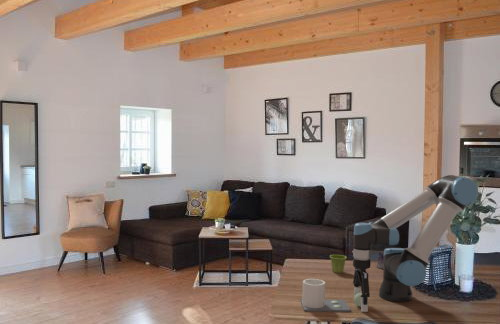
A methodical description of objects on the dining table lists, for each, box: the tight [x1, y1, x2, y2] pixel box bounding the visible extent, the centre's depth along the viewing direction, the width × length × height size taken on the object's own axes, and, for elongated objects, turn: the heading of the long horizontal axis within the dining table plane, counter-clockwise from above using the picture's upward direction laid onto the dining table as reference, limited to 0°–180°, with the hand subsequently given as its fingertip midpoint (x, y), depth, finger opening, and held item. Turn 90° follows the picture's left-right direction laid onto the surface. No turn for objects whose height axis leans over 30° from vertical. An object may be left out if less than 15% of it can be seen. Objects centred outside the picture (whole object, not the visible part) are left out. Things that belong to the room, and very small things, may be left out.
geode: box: [376, 252, 384, 270], centre depth 276 cm, size 20×12×10 cm, turn 129°
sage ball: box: [353, 292, 362, 308], centre depth 207 cm, size 6×6×6 cm
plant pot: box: [329, 254, 348, 274], centre depth 262 cm, size 9×9×9 cm
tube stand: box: [300, 278, 351, 313], centre depth 206 cm, size 20×13×11 cm, turn 91°
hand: (360, 306), depth 207 cm, fingers open, 12 cm apart
